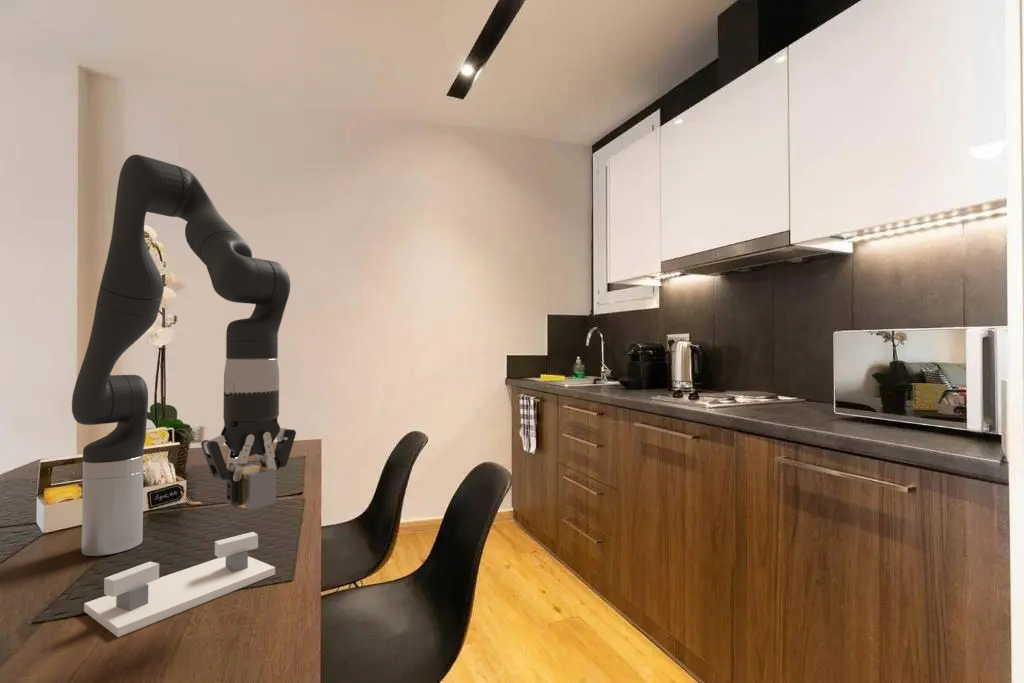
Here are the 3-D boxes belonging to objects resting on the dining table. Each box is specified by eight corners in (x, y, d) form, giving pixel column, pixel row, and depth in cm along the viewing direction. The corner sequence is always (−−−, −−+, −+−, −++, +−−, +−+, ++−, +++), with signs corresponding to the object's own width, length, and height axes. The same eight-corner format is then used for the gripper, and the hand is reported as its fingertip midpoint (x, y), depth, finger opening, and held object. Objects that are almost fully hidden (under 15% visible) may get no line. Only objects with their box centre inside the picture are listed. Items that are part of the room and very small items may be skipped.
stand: (84, 611, 72) (84, 569, 73) (237, 558, 91) (237, 524, 91) (117, 637, 66) (118, 590, 66) (275, 574, 84) (275, 538, 84)
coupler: (250, 509, 73) (250, 475, 73) (226, 502, 76) (226, 469, 76) (275, 502, 76) (276, 469, 76) (252, 495, 80) (252, 464, 80)
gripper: (281, 384, 84) (280, 486, 84) (189, 390, 72) (188, 509, 72) (308, 386, 80) (307, 493, 80) (216, 393, 68) (214, 519, 68)
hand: (250, 500), depth 76 cm, fingers closed on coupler, 4 cm apart
